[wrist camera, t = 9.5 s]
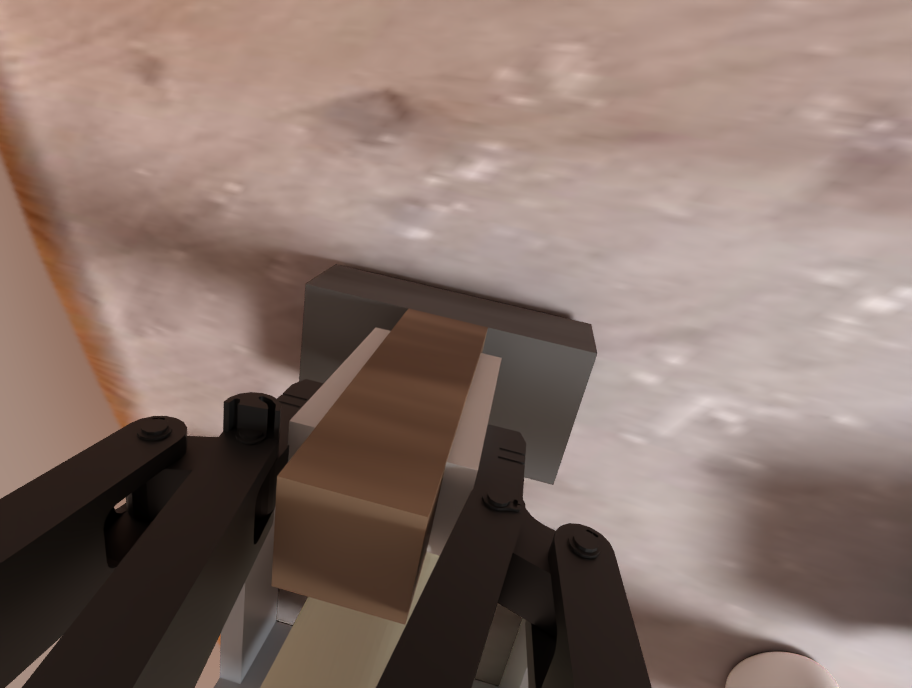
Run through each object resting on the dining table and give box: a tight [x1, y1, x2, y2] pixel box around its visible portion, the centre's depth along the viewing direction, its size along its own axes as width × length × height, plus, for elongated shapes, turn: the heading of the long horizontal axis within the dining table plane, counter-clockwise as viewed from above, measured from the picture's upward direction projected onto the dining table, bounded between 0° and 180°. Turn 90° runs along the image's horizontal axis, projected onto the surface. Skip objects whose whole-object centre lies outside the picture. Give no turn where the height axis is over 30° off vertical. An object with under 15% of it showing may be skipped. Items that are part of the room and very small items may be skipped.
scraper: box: [271, 264, 597, 625], centre depth 17 cm, size 6×11×13 cm, turn 79°
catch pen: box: [214, 506, 529, 688], centre depth 26 cm, size 13×16×6 cm
